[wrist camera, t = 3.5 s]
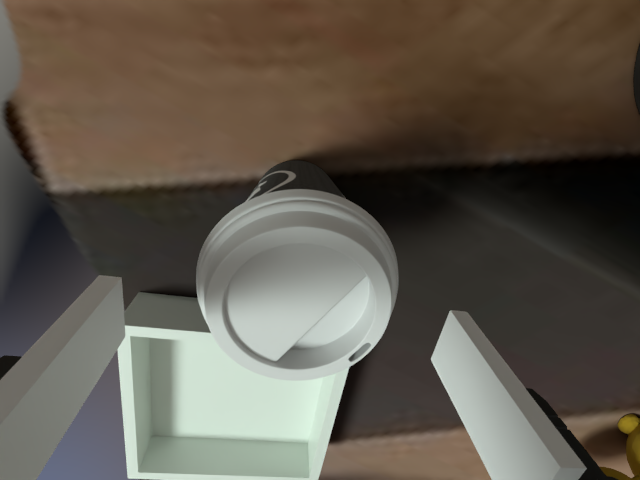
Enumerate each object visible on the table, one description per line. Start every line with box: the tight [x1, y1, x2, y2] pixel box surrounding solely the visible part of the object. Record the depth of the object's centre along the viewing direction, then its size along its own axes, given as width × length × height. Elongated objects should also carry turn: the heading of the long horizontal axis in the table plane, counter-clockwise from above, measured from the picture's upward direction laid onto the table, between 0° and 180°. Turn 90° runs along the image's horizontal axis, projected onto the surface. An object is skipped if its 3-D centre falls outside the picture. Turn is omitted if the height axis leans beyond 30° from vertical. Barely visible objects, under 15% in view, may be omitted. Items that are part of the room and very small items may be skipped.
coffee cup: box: [196, 160, 398, 381], centre depth 22 cm, size 10×10×15 cm
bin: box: [118, 292, 349, 480], centre depth 34 cm, size 19×19×4 cm
